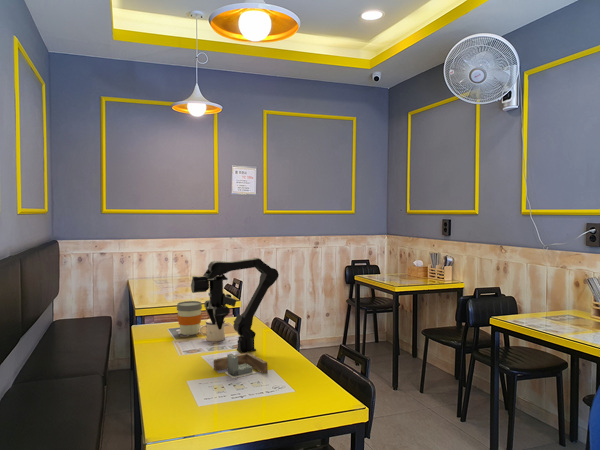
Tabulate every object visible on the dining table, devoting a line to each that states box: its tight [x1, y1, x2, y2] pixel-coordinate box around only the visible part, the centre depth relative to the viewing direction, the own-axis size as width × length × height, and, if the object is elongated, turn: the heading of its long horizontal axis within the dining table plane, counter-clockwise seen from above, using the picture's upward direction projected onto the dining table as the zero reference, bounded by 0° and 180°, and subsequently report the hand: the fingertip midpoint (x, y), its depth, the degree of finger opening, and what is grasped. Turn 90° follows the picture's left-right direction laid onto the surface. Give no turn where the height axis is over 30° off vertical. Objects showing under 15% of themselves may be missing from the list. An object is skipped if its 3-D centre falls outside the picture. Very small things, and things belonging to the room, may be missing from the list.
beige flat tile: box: [223, 370, 257, 379], centre depth 176 cm, size 10×8×1 cm
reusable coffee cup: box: [176, 300, 203, 336], centre depth 235 cm, size 13×13×15 cm
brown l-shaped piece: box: [213, 352, 269, 375], centre depth 178 cm, size 15×15×4 cm
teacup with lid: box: [199, 318, 226, 343], centre depth 222 cm, size 12×9×12 cm
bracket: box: [226, 353, 253, 377], centre depth 176 cm, size 8×5×7 cm, turn 124°
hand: (216, 326), depth 198 cm, fingers open, 9 cm apart
